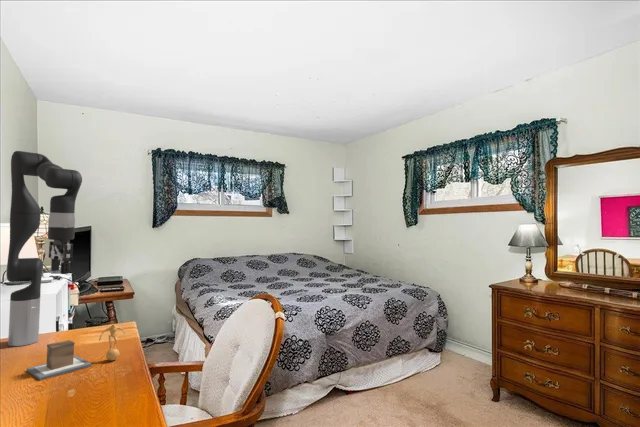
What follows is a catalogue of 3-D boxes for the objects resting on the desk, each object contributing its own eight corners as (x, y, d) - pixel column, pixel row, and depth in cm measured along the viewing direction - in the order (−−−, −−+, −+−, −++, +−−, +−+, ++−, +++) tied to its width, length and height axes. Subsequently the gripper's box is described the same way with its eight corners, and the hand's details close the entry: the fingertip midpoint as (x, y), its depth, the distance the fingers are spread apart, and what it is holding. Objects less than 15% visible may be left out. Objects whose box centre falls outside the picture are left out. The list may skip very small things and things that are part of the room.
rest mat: (26, 370, 114) (27, 367, 114) (76, 357, 125) (76, 355, 125) (40, 380, 107) (40, 377, 107) (91, 366, 118) (91, 363, 118)
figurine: (98, 364, 120) (100, 328, 120) (97, 359, 125) (99, 324, 125) (126, 359, 124) (128, 325, 125) (124, 354, 129) (125, 321, 130)
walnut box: (45, 366, 115) (46, 344, 115) (68, 361, 120) (68, 339, 120) (51, 370, 112) (52, 347, 112) (73, 364, 117) (74, 342, 117)
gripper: (41, 224, 125) (39, 271, 125) (57, 226, 117) (54, 276, 117) (66, 225, 131) (64, 268, 131) (82, 226, 123) (80, 273, 123)
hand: (59, 272), depth 124 cm, fingers open, 8 cm apart
